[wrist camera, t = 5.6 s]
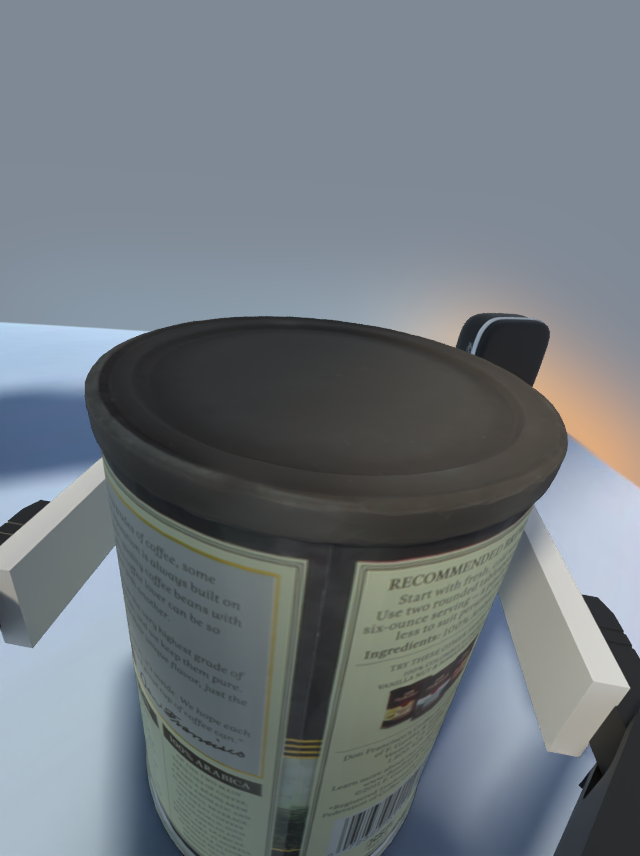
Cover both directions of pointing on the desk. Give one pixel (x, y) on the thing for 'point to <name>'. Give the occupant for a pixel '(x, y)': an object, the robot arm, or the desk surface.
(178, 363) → the coffee can
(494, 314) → the battery charger
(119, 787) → the desk surface
